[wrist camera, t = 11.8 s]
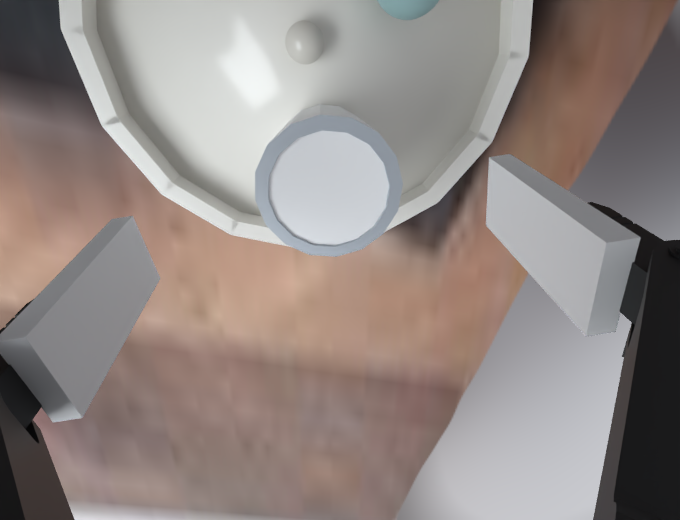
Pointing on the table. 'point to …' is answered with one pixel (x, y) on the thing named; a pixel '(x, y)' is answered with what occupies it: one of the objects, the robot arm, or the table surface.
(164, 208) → the table surface
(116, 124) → the ring tray
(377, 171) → the shot glass
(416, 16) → the bead teal
